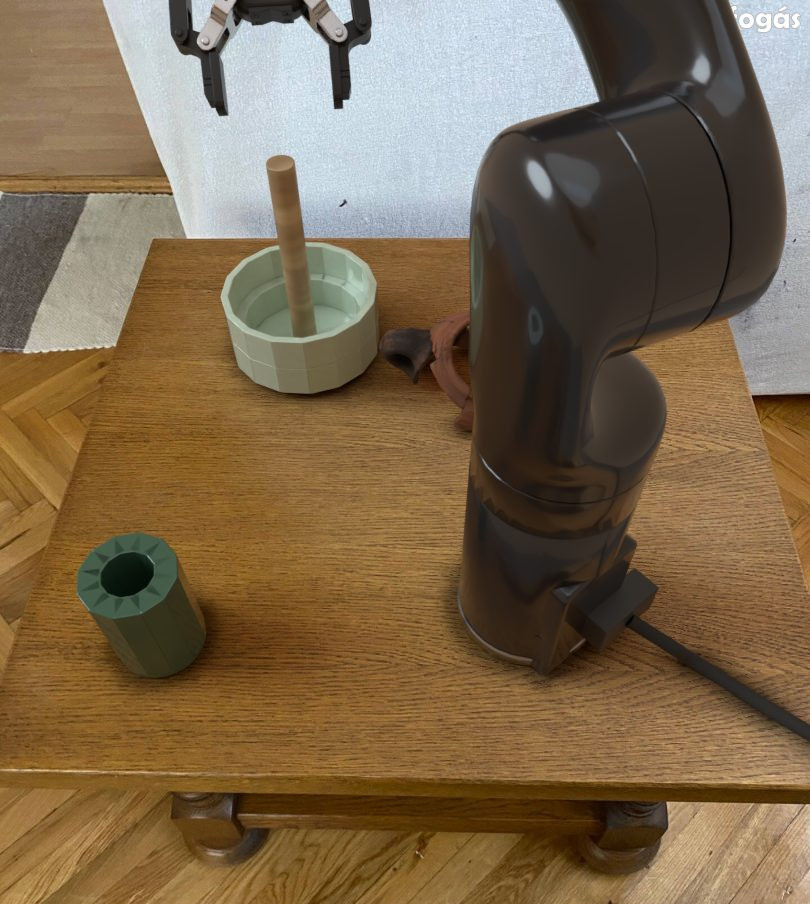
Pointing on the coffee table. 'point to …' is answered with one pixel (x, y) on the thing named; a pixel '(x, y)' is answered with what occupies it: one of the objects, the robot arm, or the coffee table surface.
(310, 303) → the stick
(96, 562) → the utensil pot
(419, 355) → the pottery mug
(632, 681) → the coffee table surface
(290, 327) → the bowl
